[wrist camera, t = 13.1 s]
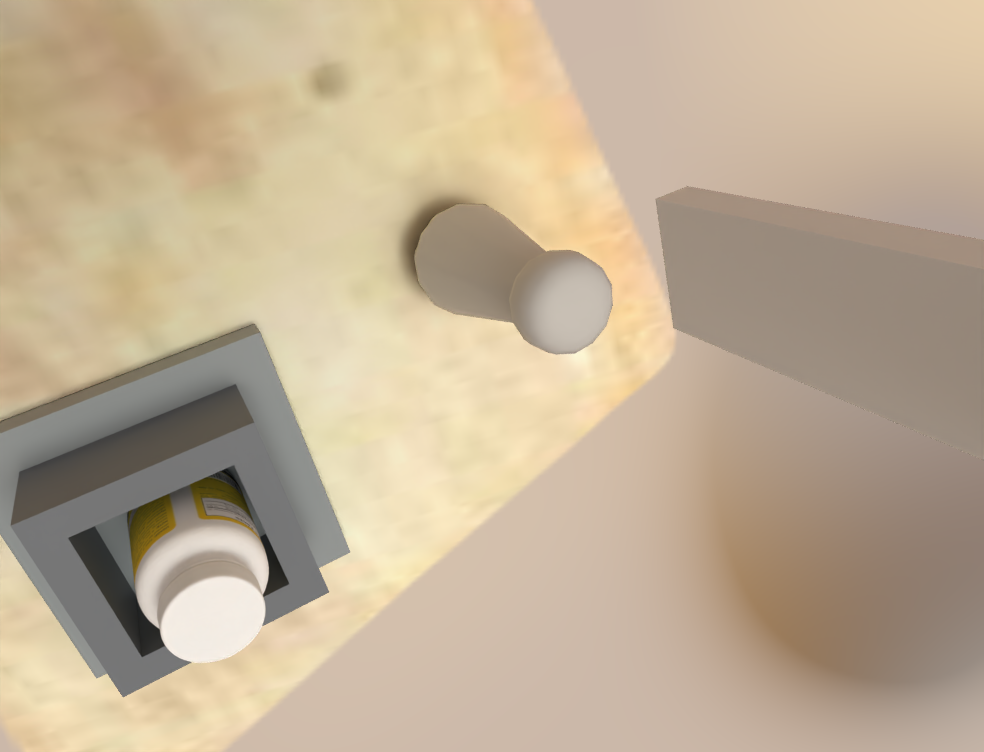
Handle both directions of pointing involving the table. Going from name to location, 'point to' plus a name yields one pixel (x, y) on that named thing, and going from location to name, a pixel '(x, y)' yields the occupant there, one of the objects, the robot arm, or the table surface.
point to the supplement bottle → (200, 568)
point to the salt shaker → (512, 279)
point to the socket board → (158, 491)
